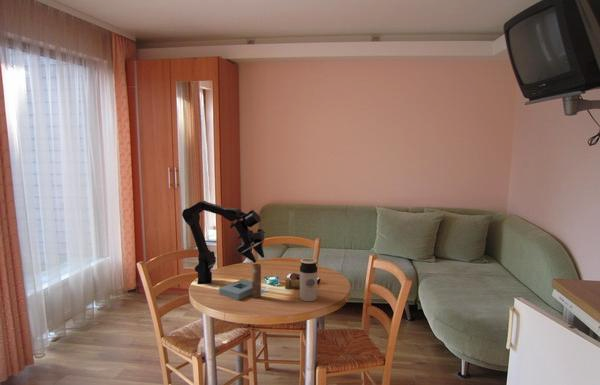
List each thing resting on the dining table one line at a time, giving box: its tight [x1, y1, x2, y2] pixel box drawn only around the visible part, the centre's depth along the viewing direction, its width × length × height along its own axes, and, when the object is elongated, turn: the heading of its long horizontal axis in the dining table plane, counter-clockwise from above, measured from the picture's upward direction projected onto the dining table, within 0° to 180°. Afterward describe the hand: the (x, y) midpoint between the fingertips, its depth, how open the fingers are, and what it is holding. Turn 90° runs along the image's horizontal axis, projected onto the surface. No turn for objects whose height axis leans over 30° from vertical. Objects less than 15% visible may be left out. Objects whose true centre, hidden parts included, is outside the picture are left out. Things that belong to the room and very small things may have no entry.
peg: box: [251, 263, 262, 299], centre depth 175 cm, size 4×4×15 cm
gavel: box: [284, 273, 300, 289], centre depth 196 cm, size 21×5×10 cm
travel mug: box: [299, 257, 318, 302], centre depth 173 cm, size 8×8×18 cm
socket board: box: [218, 278, 252, 301], centre depth 181 cm, size 12×16×3 cm
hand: (259, 259), depth 183 cm, fingers open, 9 cm apart
